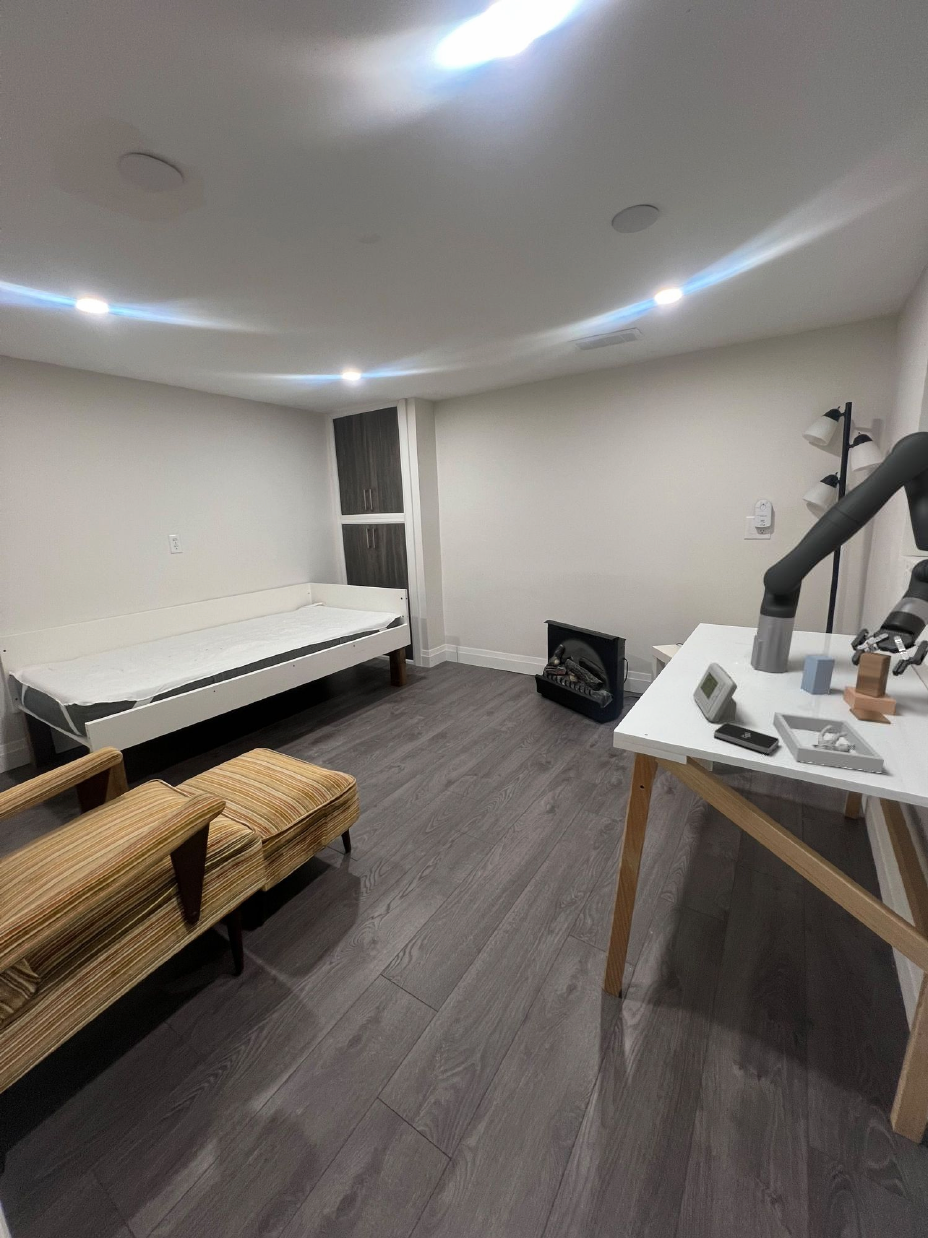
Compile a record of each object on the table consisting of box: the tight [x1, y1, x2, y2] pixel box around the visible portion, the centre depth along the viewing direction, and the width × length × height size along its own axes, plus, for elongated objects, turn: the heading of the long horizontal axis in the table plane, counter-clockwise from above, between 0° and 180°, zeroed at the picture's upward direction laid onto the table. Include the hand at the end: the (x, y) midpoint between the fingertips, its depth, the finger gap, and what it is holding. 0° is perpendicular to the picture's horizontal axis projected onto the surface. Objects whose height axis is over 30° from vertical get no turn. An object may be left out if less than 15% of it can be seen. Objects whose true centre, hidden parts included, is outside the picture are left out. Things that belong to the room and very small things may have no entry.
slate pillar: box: [800, 654, 836, 696], centre depth 132 cm, size 4×4×10 cm
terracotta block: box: [842, 685, 897, 717], centre depth 123 cm, size 8×8×4 cm
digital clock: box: [692, 662, 738, 723], centre depth 119 cm, size 16×9×11 cm, turn 156°
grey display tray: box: [772, 711, 885, 773], centre depth 103 cm, size 14×18×3 cm
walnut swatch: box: [849, 707, 891, 725], centre depth 117 cm, size 6×6×1 cm
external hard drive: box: [713, 722, 780, 756], centre depth 105 cm, size 7×11×2 cm, turn 42°
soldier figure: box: [812, 725, 855, 752], centre depth 99 cm, size 8×5×12 cm
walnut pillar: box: [855, 652, 892, 697], centre depth 121 cm, size 4×4×10 cm
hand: (874, 668), depth 120 cm, fingers open, 8 cm apart
